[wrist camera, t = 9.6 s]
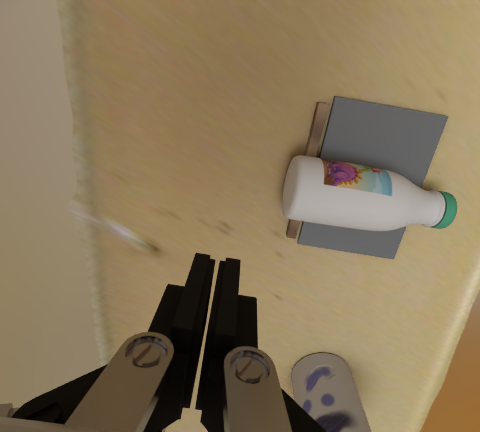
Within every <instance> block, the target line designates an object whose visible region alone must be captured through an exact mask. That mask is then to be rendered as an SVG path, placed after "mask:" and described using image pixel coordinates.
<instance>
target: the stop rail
mask: <svg viewBox="0 0 480 432" xmlns="http://www.w3.org/2000/svg"><path fill="white" fill-rule="evenodd" d="M328 106H329V104H324V103H318V102H317V105H316V109H315V114H314V118H313V122H312V126H311V131H310V135H309V139H308V143H307V148H306V152H305V156H310V157H316V154H317V150H318V146H319V142H320V138H321V134H322V130H323V126H324V122H325V118H326V114H327V110H328ZM299 222H300V221H298V220H292V219H289V224H288V228H287V232H286V236H287V237H288V238H294V239H295V238H296V234H297V230H298V226H299Z"/></svg>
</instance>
